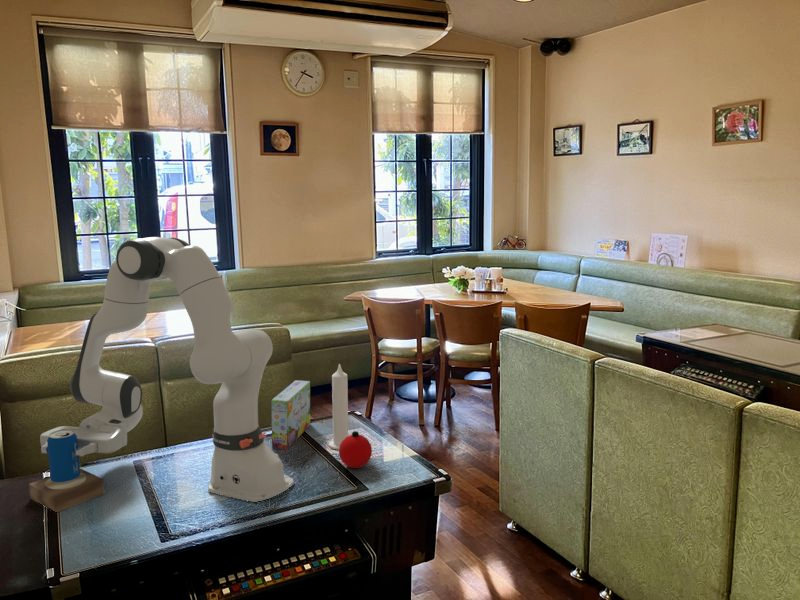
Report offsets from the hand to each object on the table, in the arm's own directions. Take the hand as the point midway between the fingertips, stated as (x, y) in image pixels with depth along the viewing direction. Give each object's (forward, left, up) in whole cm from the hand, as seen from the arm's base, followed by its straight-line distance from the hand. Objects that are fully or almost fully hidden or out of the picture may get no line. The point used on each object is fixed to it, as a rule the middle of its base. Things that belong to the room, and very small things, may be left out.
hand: (60, 451), depth 155 cm
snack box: (-17, -62, -12) cm, 65 cm away
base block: (0, -1, -12) cm, 12 cm away
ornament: (-47, -56, -12) cm, 74 cm away
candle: (-34, -65, -12) cm, 74 cm away
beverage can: (+1, -1, -8) cm, 8 cm away
